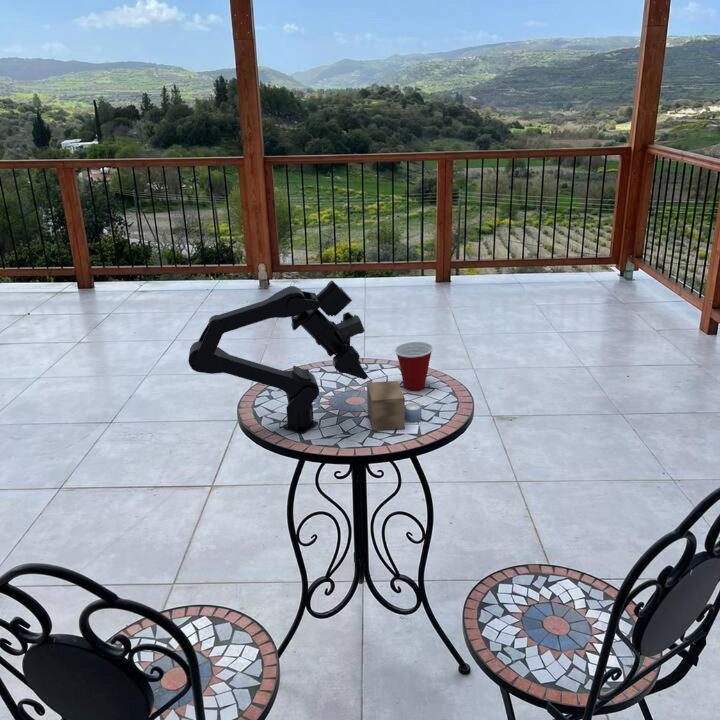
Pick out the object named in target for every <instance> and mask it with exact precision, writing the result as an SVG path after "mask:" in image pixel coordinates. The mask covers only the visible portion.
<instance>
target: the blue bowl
mask: <svg viewBox="0 0 720 720" xmlns="http://www.w3.org/2000/svg"><path fill="white" fill-rule="evenodd" d="M422 410H423V409H422V405H421V404H418V403H408V404H407V403H406V404H405V420H406V421H405V422H409V423H418V422H421V420H422V418H423V417H422V415H423V413H422V412H423V411H422Z"/></svg>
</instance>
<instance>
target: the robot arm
mask: <svg viewBox="0 0 720 720" xmlns="http://www.w3.org/2000/svg"><path fill="white" fill-rule="evenodd" d="M352 301H353V299H352V298H351V297H350V295H348V293H347V292H346V291H345V290H344V289H343V288H342V287H340V286H339V285H338V284H337V283H336V282H335V281H334V280H333V279H332V280H330V281H329V282H328V283H327V284H326V286H325V287H324V288H322V289H321V291H319V292H318V294H317V293H316V292H312V291H311V292H310V291H304V290H301V289H300V287H297V286H295V285H290V286H287V287H284V288H283V289H281V290H279V291H277V292H275V293H274V294H273V295H271V296H269V297H268V298H266V299H264V300H262V301H258V302H255V303H252V304H248V305H246V306H243V307H240V308H237V309H233V310H230V311H226V312H223V313H220V314H215V315H213V316H211V317H210V318H209V320H208V323H207V325H206V327H205V328H204V330H203V331H202V333H201V335H200V337H199V339H198V340H197V341H195V342H193V343H192V344H191V346H190V348H189V353H188V360H187V361H188V364H189V366H190V368H191V370H192V371H194V372H197V373H201V374H210V375H213V374H214V375H215V374H216V375H217V374H227V375H230V376H234V377H237V378H241V379H244V380H248V381H252V382H254V383H258V384H262V385H265V386H267V387H272V388H276V389H279V390H281V391H282V392H284V393H285V394H286V399H287V405H286V407H285V408H286V419H287V423H285V424H284V425H282V427H283V429H286V430H289V431H292V432H296V433H299V434H305V433H306V432H308V431H310V430H311V429H313V428H315V427H317V425H319V421H316V420H314V409H313V408H314V405H313V403H314V401H315V400H316V399H317V398H318V397H319V394H320V387H319V384H318V381H317V379H316V377H315V375H314V374H313V373H312V372H310V370H309V368H308V369H307V368H306V369H304V368H301V367H299V366H296V365H293V367H292V370H282V369H278V368H275V367H273V366H272V367H271V366H269V365H266V364H261V363H258V362H255V361H252V360H248V359H245V358H241V357H238V356H236V355H233V354H229V353H228V352H226V351H225V350H223V349H222V348H221V347H219V344H220V342H221V339H222V337H223V336H224V334H226V333H227V332H228V333H229V332H232V331H235V330H237V329H241V328H245V327H247V326H250V325H253V324H256V323H260V322H262V321H266V320H269V319H274V318H275V319H280V318H281V319H285V318H291V328H292V331H296V330H297V329H298V328H300V326H301V328H302V329H304V330H305V331H306V332H307V333H308V334H309V335H310V336H311V337H312V338H313V339H314V341H315V343H316V344H317V345H318V346H321V347H322V348H323V349H324V350H325V352H326V353H327V356H329V357H330V358H332V365H333V367H334V369H335V370H336V371H337V372H338V373H339V374H346V375H350V376H352V377H356V378H358V379H362V380H367V379H369V376H368V374H367V372H366V370H364V368H363V366H362V365H361V360H360V357H361V356H360V354H359V352H358V350H356V349H355V347H354V345H351V338H352V337H354V336H357V335H361V334H363V333H365V332H366V331H365V328H364V325H363V323H362V320H361V317H360V316H359V315H356V314H354V315H353V314H352V313H350V312H349V311H348V312H344V313H343V314H342V320H340V322H339V323H336V322H335V321H332V320H330V319H329V318H327V317H330V316H331V317H336V316H337V315H338V314H339V313H340V312H342V311H343V310H344V309H345V308H346V307H347V306H348V305H349V304H350V303H351V302H352ZM320 309H321V310H322V311H323V312H321V310H320ZM324 314H326V316H327V317H326V316H325V315H324ZM332 356H333V357H332Z"/></svg>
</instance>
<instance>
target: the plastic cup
mask: <svg viewBox="0 0 720 720" xmlns="http://www.w3.org/2000/svg"><path fill="white" fill-rule="evenodd" d="M433 349H434V346H433V344H431V343H429V342H425V341H407V342H404V343H401V344H398V345H397V346H395V348H394V350H393V352H394V353H395V354H396V357H397V359H398V364H399V369H400V373H401V377H402V383H403V384H402V385H403V387H404V389H406V390H407V391H414V392H417V391H421V390H424V389H425V386H426V381H427V377H428V371H429V365H430V360H431V356H432V352H433Z"/></svg>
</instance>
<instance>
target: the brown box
mask: <svg viewBox="0 0 720 720" xmlns="http://www.w3.org/2000/svg"><path fill="white" fill-rule="evenodd" d="M366 394H367V395H366V396H367V397H366V398H367V399H366V400H367V402H366V403H367V415H368V418H369V422H370V425H371V426H370V427H371V430H372V431H379V430H381V431H382V430H383V431H384V430H395V429H405V427H406V426H405V425H406V423H405V422H406V421H405V405H406V403H405V400H406V398H405V395H404V393H403V390H402V388H401V386H400V383H399V380H391V381H390V380H389V381H373V382H367V383H366Z"/></svg>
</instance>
